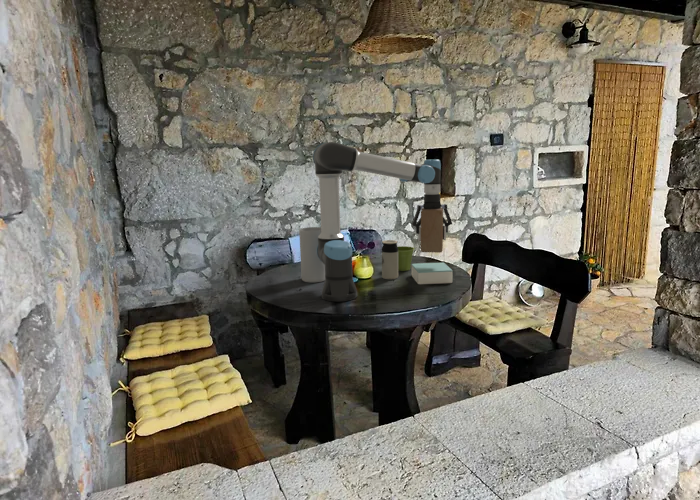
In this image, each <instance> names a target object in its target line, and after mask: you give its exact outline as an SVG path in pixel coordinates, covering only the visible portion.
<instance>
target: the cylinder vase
mask: <svg viewBox="0 0 700 500" xmlns="http://www.w3.org/2000/svg"><path fill="white" fill-rule="evenodd" d="M298 230H299V231H298V233H299V249H300V251H299V252H300V253H299V254H300V270H301V272H300V273H301V274H300V275H301V281H302V282H304V283H313V284H314V283H321V282H325V265H324V263H323V262H321V261H320V259H319V258H318V255H317V246H318V236H319V235H320V234H321V226H313V227H312V226H310V227H308V226H307V227H301V228H299V229H298Z"/></svg>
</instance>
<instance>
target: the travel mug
mask: <svg viewBox="0 0 700 500" xmlns="http://www.w3.org/2000/svg"><path fill="white" fill-rule="evenodd" d="M381 242H382V247H381V278H383V279H385V280H396V279H398V278H399V270H398V247H399V246H398V241H397V240H396V239H395V240H393V239H386V240H381Z"/></svg>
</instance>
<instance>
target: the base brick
mask: <svg viewBox="0 0 700 500" xmlns="http://www.w3.org/2000/svg"><path fill="white" fill-rule="evenodd" d="M453 272H454V271H453V269H452V268H451V267H449V266H448V264H446V263H445V262H427V263H426V262H425V263H423V262H422V263H411V277H412V278H413V279H414V281H415V282H416V283H417V285H434V284H452V283H453Z"/></svg>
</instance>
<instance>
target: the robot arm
mask: <svg viewBox="0 0 700 500" xmlns="http://www.w3.org/2000/svg"><path fill="white" fill-rule="evenodd" d="M312 160H313V163H314V170H315V176H316V177H317V178H318V182H319V208H320V210H319V211H320V227H321V234H320V235H319V236H318V246H317V255H318V258H319V259H320V261H321V262H323V263H324V265H325V281H323V286H322V289H321V298H322V299H323V300H324V301H327V302H338V303H339V302H340V303H341V302H347V301H348V302H349V301H353V300H355V299H356V298H357V297H358V289H357V287H356V284H355V282H354V279H353V278H354V277H353V248H352V244H351V243H350V242H349V241H346V240H345V236H344V234H343V233H342V232H341V213H340V212H341V211H340V209H341V207H340V206H341V205H340V204H341V203H340V178H341V176H342V175H343V171H346V172H354V170H355V171H360V172H363V173H369V174H375V175H379V176H384V177H389V178H396V179H399V181H400V182H402V183H403V182H405V183H408V182H410V183H411V182H412V183H420V184H421V183H422V184H423V193H424V195H423V204H422V205H420V204H417V205H416V212H415V215H414V217H413V220H412V223H411V225H412V226H413V227H415V234H416V235H417V240H418V241H419V242H421V217H420V218H419V216H420V215H421V210H422V208H424V209H440V208H442V209H443V213H444V215H445V217H444V216H443V241H446V240H447V234H448V232H449V226H450V225H453V222H452V218H451V217H450V214H449V211H448V204H446V203H444V204H442V203H441V174H442V169H441V168H442V167H441V166H442V163H441V160H440V159H424V161H423V163H421V164H420V163H416V162H411V161H406V160H401V159H397V158H392V157H387V156H382V155H378V154H373V153H368V152H363V151H359V150H358V149H357V148H356V147H351V146H348V145H344V144H342V143H340V142H336V141H327V142H323V143H320V144H319V145H317V146H316V148H315V149H314V151H313V154H312Z"/></svg>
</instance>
